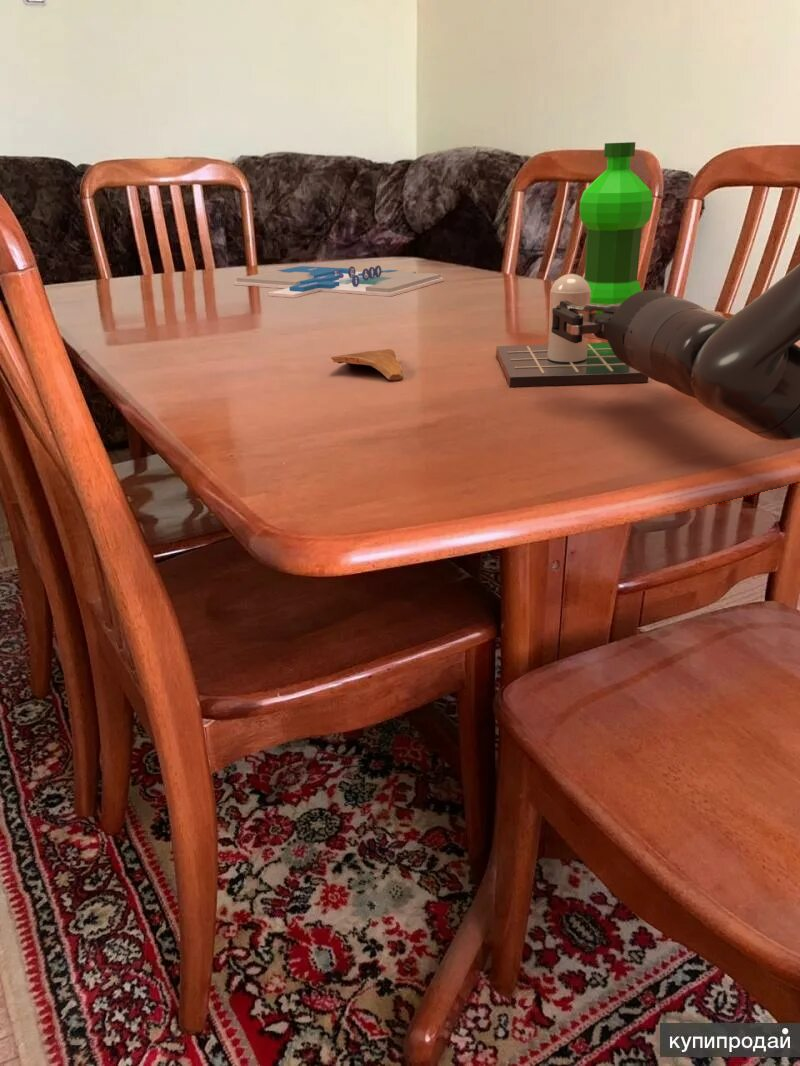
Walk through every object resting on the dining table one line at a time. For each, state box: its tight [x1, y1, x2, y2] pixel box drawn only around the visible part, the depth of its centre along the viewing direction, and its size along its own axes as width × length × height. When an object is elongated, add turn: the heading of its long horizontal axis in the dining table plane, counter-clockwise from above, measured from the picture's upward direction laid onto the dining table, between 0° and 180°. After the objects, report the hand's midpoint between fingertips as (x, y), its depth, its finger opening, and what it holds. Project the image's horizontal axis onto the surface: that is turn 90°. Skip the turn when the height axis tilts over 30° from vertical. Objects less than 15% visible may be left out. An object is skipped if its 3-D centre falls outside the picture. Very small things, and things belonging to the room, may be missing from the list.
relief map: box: [233, 265, 445, 299], centre depth 170 cm, size 30×40×4 cm
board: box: [495, 342, 649, 388], centre depth 103 cm, size 16×16×1 cm
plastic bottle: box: [578, 141, 654, 317], centre depth 122 cm, size 10×10×25 cm
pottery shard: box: [330, 348, 404, 382], centre depth 104 cm, size 10×9×2 cm
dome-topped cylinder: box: [547, 273, 591, 362], centre depth 100 cm, size 5×5×10 cm
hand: (598, 307), depth 92 cm, fingers open, 8 cm apart
